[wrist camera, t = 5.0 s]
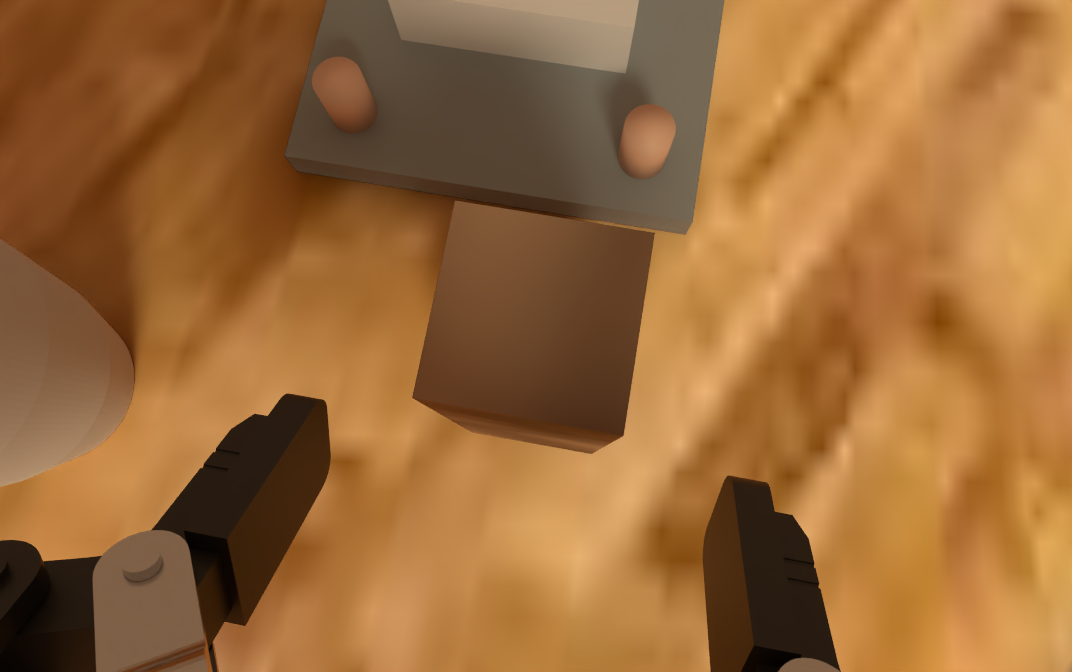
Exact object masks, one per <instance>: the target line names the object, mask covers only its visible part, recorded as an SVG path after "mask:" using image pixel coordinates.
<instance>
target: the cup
mask: <svg viewBox="0 0 1072 672" xmlns="http://www.w3.org/2000/svg"><path fill="white" fill-rule="evenodd" d="M133 389H134V367H133V362H132V358H131V355H130V352H129V350H128V348H127V346H126V344H125V343H124V341H123V340H122V338H121V337H120V336H119V335H118V334H117V333H116V332H115V330H114V329H113V328H112V327H111V326H110V325H109V324H108V323H107V322H106V321H105V320H104V319H103V317H102V316H101V315H100V314H99V313H98V312H97V311H96V310H95V309H94V308H93V307H92V306H91V304H90V303H89V302H88V301H87V300H86V299H85V298H84V297H83V296H82V295H81V294H80V293H78V292H77V291H76V290H74V289H73V288H71V287H70V286H69V285H67V284H66V283H64V282H63V281H61V280H60V279H58V278H57V277H56V276H54V275H53V274H51V273H50V272H48V271H47V270H45V269H44V268H42V267H41V266H40V265H38V264H37V263H35V262H34V261H32V260H31V259H29V258H28V257H27V256H25V255H24V254H22V253H21V252H19V251H18V250H16V249H15V248H13V247H12V246H11V245H9V244H8V243H6V242H5V241H3V240H2V239H0V486H4V485H9V484H13V483H17V482H20V481H23V480H26V479H29V478H31V477H33V476H36V475H38V474H40V473H42V472H45V471H47V470H49V469H52V468H54V467H56V466H58V465H61V464H63V463H65V462H68V461H70V460H72V459H74V458H77V457H79V456H81V455H84V454H86V453H88V452H89V451H91V450H93V449H94V448H96V447H97V446H99V445H100V444H101V443H103V442H104V441H105V440H106V439H107V438H108V437H109V436H110V435H111V434H112V433H113V432H114V431H115V429H116V428H117V427H118V425H119V424H120V423H121V421H122V419H123V418H124V416H125V414H126V412H127V410H128V407H129V405H130V402H131V399H132V395H133Z"/></svg>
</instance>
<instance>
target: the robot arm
mask: <svg viewBox="0 0 1072 672" xmlns="http://www.w3.org/2000/svg"><path fill="white" fill-rule="evenodd" d="M330 458H331V454H330V440H329V427H328V414H327V405H326V402H325V401H324V400H321V399H316V398H310V397H305V396H299V395H294V394H285V395H284V396H282V398H281V399H280V400H279V401H278V403H277V404H276V405H275V407H274V408H273V410H272V411H271V412H270V414H269V415H268V416H264V415H258V414H254V415H252V416H251V417H249V418H248V419H246V420H244V421H243V422H241V423H240V424H238V425H237V426H235V427H234V428H232V429H231V430H230V431H229V433H228V434H227V435H226V436H225V438H224V439H223V440H222V441H221V443H220V444H219V445H218V447H217V448H216V452H213V453H212V454H211V455H210V457H209V458H208V459H207V461H206V462H205V463H204V466H203V468H200V469H199V471H198V472H197V473H196V475H195V476H194V477H193V478H192V480H191V481H190V482H189V483H188V485H187V486H186V487H185V489H184V490H183V491H182V492H181V494H180V495H179V496H178V497H177V499H176V500H175V501H174V503H173V504H172V505H171V506H170V508H169V509H168V510H167V511H166V513H165V514H164V515H163V517H162V518H161V519H160V520H159V522H158V523H157V524H156V525H155V526H154V528H153V529H152V530H151V531H145V532H141V533H137V534H134V535H131V536H129V537H127V538H125V539H123V540H121V541H119V542H118V543H116V544H115V545H113V546H112V547H111V548H109V549H108V550H107V551H106V552H105V553H104V554H103V555H102V556H97V557H89V558H78V559H66V560H54V561H43V560H42V558H41V556H40V553H39V552H38V550H37V549H36V548H35V547H34V546H33V545H31V544H29V543H27V542H23V541H18V540H4V541H0V672H219V669H218V663H217V658H216V652H215V647H214V643H213V640H214V639H215V637H216V635H217V633H218V632H219V630H220V628H221V627H222V625H223V623H224V622H229V623H234V624H239V625H244V626H245V625H246V624H247V622H248V620H249V618H250V616H251V615H252V613H253V611H254V609H255V608H256V606H257V604H258V602H259V600H260V599H261V597H262V595H263V593H264V591H265V590H266V588H267V586H268V584H269V582H270V581H271V579H272V577H273V575H274V573H275V572H276V570H277V568H278V566H279V564H280V563H281V561H282V559H283V557H284V555H285V554H286V552H287V550H288V548H289V546H290V545H291V543H292V541H293V539H294V538H295V536H296V534H297V532H298V530H299V529H300V527H301V525H302V523H303V521H304V520H305V518H306V516H307V514H308V512H309V511H310V509H311V507H312V505H313V503H314V502H315V500H316V498H317V496H318V494H319V493H320V491H321V489H322V487H323V485H324V483H325V481H326V478H327V475H328V471H329V466H330ZM703 569H704V583H705V597H706V612H707V626H708V640H709V654H710V668H711V672H841V671H840V668H839V665H838V662H837V657H836V653H835V649H834V645H833V640H832V636H831V632H830V628H829V623H828V619H827V615H826V611H825V607H824V602H823V598H822V594H821V590H820V589H819V587H818V586H819V581H818V577H817V573H816V568H814V560H813V556H812V552H811V547H810V543H809V539H808V537H807V536H806V534H805V533H804V531H803V530H802V529H801V527H800V526H799V524H798V523H797V521H796V520H795V518H794V517H793V515H789V514H784V513H778V512H775V511H774V506H773V501H772V496H771V490H770V487H769V485H768V483H766V482H761V481H756V480H750V479H745V478H739V477H734V476H727V477H726V479H725V480H724V483H723V485H722V488H721V491H720V494H719V496H718V499H717V502H716V504H715V507H714V510H713V512H712V515H711V518H710V521H709V523H708V526H707V529H706V533H705V538H704V545H703Z"/></svg>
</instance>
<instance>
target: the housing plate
mask: <svg viewBox="0 0 1072 672" xmlns="http://www.w3.org/2000/svg"><path fill="white" fill-rule="evenodd" d="M723 5H724V0H327V1H326V5H325V8H324V12H323V16H322V19H321V23H320V27H319V30H318V34H317V38H316V41H315V45H314V49H313V52H312V56H311V60H310V63H309V67H308V71H307V74H306V78H305V82H304V85H303V89H302V93H301V96H300V100H299V104H298V108H297V111H296V115H295V119H294V122H293V126H292V130H291V133H290V137H289V141H288V144H287V148H286V152H285V155H284V156H285V157H286V159H287V160H288V161H289V162H290V163H291V165H292V166H293V167H294V168H295V170H296V171H298V172H304V173H311V174H317V175H323V176H329V177H335V178H341V179H348V180H354V181H360V182H366V183H372V184H378V185H384V186H391V187H397V188H403V189H409V190H415V191H421V192H427V193H434V194H440V195H446V196H452V197H458V198H464V199H470V200H477V201H483V202H489V203H495V204H501V205H507V206H514V207H520V208H526V209H532V210H538V211H544V212H550V213H557V214H563V215H569V216H575V217H581V218H587V219H593V220H600V221H606V222H612V223H618V224H624V225H630V226H637V227H643V228H649V229H655V230H661V231H667V232H673V233H680V234H686V233H687V231H688V229H689V227H690V226H691V224H692V222H693V215H694V208H695V201H696V194H697V187H698V180H699V173H700V166H701V159H702V152H703V145H704V138H705V131H706V124H707V117H708V110H709V103H710V96H711V89H712V82H713V75H714V68H715V61H716V54H717V47H718V40H719V33H720V26H721V19H722V12H723Z"/></svg>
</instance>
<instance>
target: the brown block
mask: <svg viewBox="0 0 1072 672" xmlns="http://www.w3.org/2000/svg"><path fill="white" fill-rule="evenodd" d="M654 234H655V233H652V232H646V231H639V230H633V229H627V228H621V227H615V226H609V225H603V224H596V223H590V222H584V221H578V220H572V219H566V218H560V217H553V216H547V215H541V214H535V213H529V212H523V211H517V210H510V209H504V208H498V207H492V206H486V205H480V204H474V203H468V202H461V201H455V203H454V208H453V212H452V217H451V221H450V226H449V231H448V235H447V240H446V245H445V249H444V254H443V258H442V263H441V268H440V272H439V277H438V281H437V286H436V291H435V295H434V300H433V305H432V309H431V314H430V318H429V323H428V328H427V332H426V337H425V341H424V346H423V351H422V355H421V360H420V365H419V369H418V374H417V378H416V383H415V388H414V392H413V397H412V398H414V399H415V400H417V401H419V402H420V403H422V404H424V405H426V406H427V407H429V408H431V409H433V410H434V411H436V412H438V413H439V414H441V415H443V416H445V417H446V418H448V419H450V420H452V421H453V422H455V423H457V424H459V425H460V426H462V427H464V428H465V429H467V430H469V431H471V432H474V433H479V434H485V435H490V436H496V437H501V438H507V439H512V440H518V441H523V442H529V443H534V444H540V445H545V446H551V447H557V448H562V449H568V450H573V451H579V452H584V453H590V454H592V453H594V452H596V451H597V450H599V449H601V448H603V447H604V446H606V445H608V444H610V443H611V442H613V441H615V440H617V439H619V438H620V437H622V436H623V435H624V429H625V422H626V416H627V409H628V403H629V396H630V390H631V383H632V377H633V370H634V364H635V357H636V351H637V344H638V338H639V331H640V325H641V318H642V312H643V305H644V299H645V292H646V286H647V279H648V273H649V266H650V260H651V253H652V247H653V240H654Z"/></svg>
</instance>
